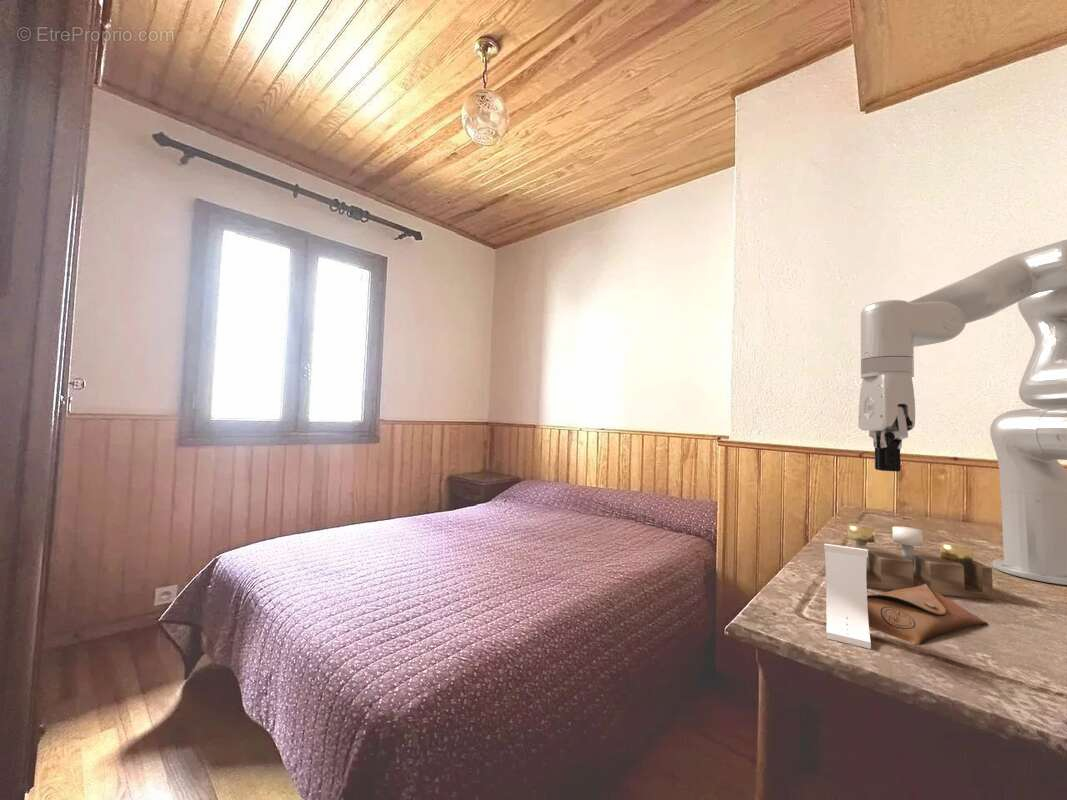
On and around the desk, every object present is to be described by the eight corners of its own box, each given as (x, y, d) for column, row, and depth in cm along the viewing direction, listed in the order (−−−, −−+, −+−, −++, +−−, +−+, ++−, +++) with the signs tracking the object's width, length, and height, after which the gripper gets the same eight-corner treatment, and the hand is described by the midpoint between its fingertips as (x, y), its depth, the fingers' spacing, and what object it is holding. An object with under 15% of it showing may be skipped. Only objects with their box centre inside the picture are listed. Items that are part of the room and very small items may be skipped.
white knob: (915, 563, 78) (914, 527, 78) (928, 570, 74) (927, 532, 74) (889, 560, 79) (887, 525, 79) (900, 567, 75) (899, 530, 75)
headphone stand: (826, 638, 56) (823, 544, 57) (826, 621, 61) (824, 535, 62) (871, 649, 54) (868, 550, 54) (868, 630, 59) (865, 540, 59)
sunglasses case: (920, 646, 54) (887, 590, 58) (867, 653, 59) (840, 600, 63) (992, 623, 61) (959, 574, 65) (939, 630, 67) (911, 585, 70)
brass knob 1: (869, 559, 80) (868, 524, 80) (880, 565, 76) (879, 529, 76) (844, 557, 81) (843, 522, 81) (854, 563, 77) (853, 527, 77)
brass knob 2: (963, 579, 76) (962, 542, 76) (980, 587, 72) (978, 549, 72) (936, 576, 77) (934, 540, 77) (950, 584, 73) (949, 546, 73)
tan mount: (959, 582, 78) (958, 554, 78) (993, 599, 70) (991, 568, 70) (837, 571, 83) (837, 544, 83) (856, 586, 75) (855, 556, 75)
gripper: (845, 374, 87) (845, 466, 86) (883, 363, 73) (884, 473, 72) (888, 375, 85) (889, 468, 84) (937, 363, 71) (939, 476, 70)
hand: (887, 470), depth 78 cm, fingers closed
